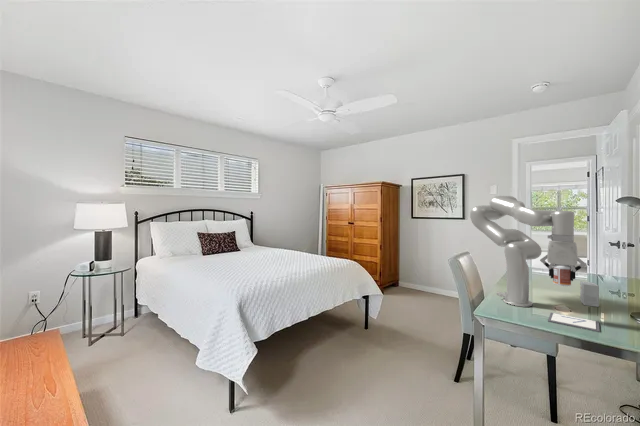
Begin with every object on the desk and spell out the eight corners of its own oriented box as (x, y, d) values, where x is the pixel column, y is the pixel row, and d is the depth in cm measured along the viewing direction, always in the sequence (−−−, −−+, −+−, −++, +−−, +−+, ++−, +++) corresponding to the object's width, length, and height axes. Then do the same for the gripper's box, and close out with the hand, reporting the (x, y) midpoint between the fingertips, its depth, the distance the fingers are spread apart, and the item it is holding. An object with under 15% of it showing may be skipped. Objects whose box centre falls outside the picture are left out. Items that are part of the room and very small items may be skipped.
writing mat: (547, 321, 125) (547, 319, 125) (550, 313, 134) (550, 311, 134) (599, 332, 114) (599, 330, 114) (598, 322, 123) (598, 320, 123)
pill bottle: (573, 285, 128) (573, 260, 128) (568, 287, 124) (568, 261, 124) (555, 282, 133) (556, 258, 133) (550, 284, 130) (550, 259, 129)
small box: (598, 307, 143) (599, 286, 143) (583, 305, 146) (583, 284, 146) (594, 302, 149) (594, 282, 149) (580, 301, 152) (580, 281, 152)
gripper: (537, 238, 131) (536, 277, 132) (589, 240, 120) (588, 284, 120) (539, 236, 137) (538, 274, 137) (589, 239, 125) (588, 280, 126)
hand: (561, 278), depth 129 cm, fingers closed on pill bottle, 6 cm apart
